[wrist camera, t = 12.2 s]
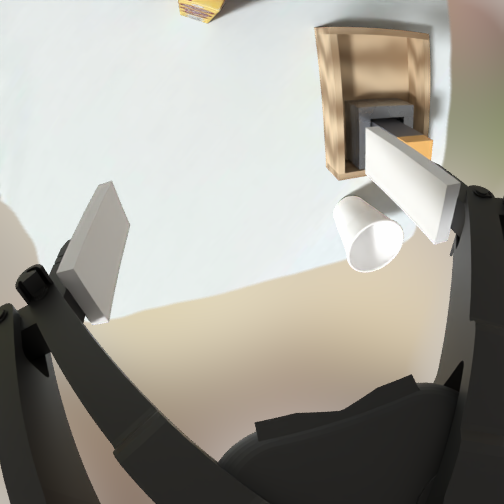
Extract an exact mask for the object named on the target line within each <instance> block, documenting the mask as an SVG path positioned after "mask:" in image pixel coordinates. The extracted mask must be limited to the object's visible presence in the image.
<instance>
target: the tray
mask: <svg viewBox="0 0 504 504" xmlns="http://www.w3.org/2000/svg"><path fill="white" fill-rule="evenodd" d="M314 29H315V37H316V45H317V53H318V62H319V72H320V82H321V93H322V105H323V119H324V134H325V152H326V167H327V168H328V170H329V171H330V172H331V173H332V174H333V175H334V176H335V177H336V178H337V179H338V180H339V181H340V180H345V179H351V178H357V177H363V176H367V175H366V174H365V169H360V170H359V169H358V168H357V167H356V166H355V165H354V164H353V163H352V162H350V161H349V160H348V159H347V156H346V120H345V101H347V100H361V99H379V98H399V99H401V100H403V101H406V102H408V103H410V104H413V105H414V115H413V129H414V130H416V131H418V132H420V133H421V134H423V135H425V136H427V137H428V129H429V112H430V42H429V34H426V33H419V32H412V31H403V30H393V29H381V28H364V27H318V28H314Z"/></svg>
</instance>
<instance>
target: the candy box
mask: <svg viewBox="0 0 504 504" xmlns="http://www.w3.org/2000/svg"><path fill="white" fill-rule="evenodd" d="M225 1H226V0H178V3H179V9H180V15H183V16H186V17H189V18H192V19H195V20H198V21H201V22H204V23H209V22H210V21H211V20H212V19H213V18H214V16H216V15H217V14H218V13H219V12H220V10H221V9H222V7H223V5H224V3H225Z"/></svg>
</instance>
